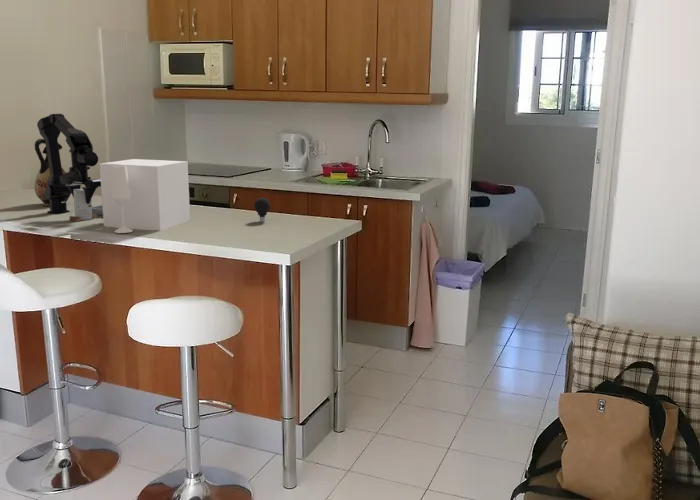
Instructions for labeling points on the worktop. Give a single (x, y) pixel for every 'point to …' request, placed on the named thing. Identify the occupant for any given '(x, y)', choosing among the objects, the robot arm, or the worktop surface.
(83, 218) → the skincare box
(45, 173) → the ceramic jug
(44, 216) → the worktop surface
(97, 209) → the slate tray
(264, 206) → the light bulb
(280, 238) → the worktop surface
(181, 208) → the cube
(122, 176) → the champagne flute
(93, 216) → the brown wooden block
